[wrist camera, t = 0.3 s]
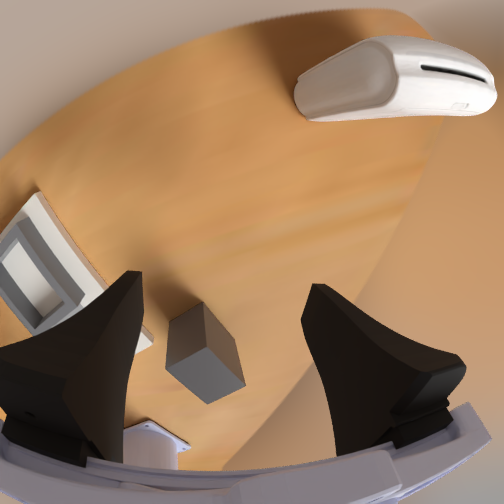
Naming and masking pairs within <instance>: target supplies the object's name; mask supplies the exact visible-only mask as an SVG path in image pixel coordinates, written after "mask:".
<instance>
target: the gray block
mask: <svg viewBox="0 0 504 504" xmlns="http://www.w3.org/2000/svg"><path fill="white" fill-rule="evenodd" d="M165 369H166V370H167V371H168V372H169V373H170V374H172V375H173V376H174V377H175V378H176V379H177V380H178V381H179V382H181V383H182V384H183V385H184V386H185V387H186V388H188V389H189V390H190V391H191V392H192V393H194V394H195V395H196V396H197V397H199V398H200V399H201V400H202V401H204V402H205V403H206V404H209V403H212V402H214V401H216V400H218V399H220V398H222V397H224V396H227V395H229V394H231V393H233V392H235V391H237V390H239V389H241V388H243V387H245V386H246V384H245V380H244V376H243V372H242V368H241V364H240V360H239V356H238V351H237V347H236V343H235V339H234V338H233V337H232V336H231V335H230V333H229V332H228V331H227V330H226V329H225V328H224V326H223V325H222V324H221V323H220V322H219V320H218V319H217V318H216V317H215V316H214V314H213V313H212V312H211V311H210V310H209V308H208V307H207V306H206V305H205V303H204V302H202V303H200V304H198V305H197V306H195V307H193V308H192V309H190V310H188V311H187V312H185V313H183V314H182V315H180V316H178V317H177V318H175V319H174V320H172V321H170V322H169V331H168V341H167V353H166V366H165Z"/></svg>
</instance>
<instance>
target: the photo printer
mask: <svg viewBox="0 0 504 504" xmlns="http://www.w3.org/2000/svg"><path fill="white" fill-rule="evenodd" d="M297 80H298V83H297V84H296V86H295V89H294V100H295V103H296V106H297V108H298V109H299V111H300V112H301V113H302V114H303V115H305V116H306V120H310V121H321V122H325V121H344V120H359V119H373V118H386V117H400V116H424V115H450V116H473V115H477V114H481V113H483V112H486V111H487V110H488V109H490V108H491V106H492V105H493V104H494V103H495V101H496V98H497V92H496V90H495V87H494V78H493V76H492V74H491V73H490V71H489V70H488V69H487V68H486V66H485V65H484V64H483V63H482V62H480V61H479V60H478V59H476V58H475V57H474V56H472V55H470V54H468V53H466V52H464V51H462V50H460V49H458V48H455V47H453V46H450V45H447V44H444V43H440V42H436V41H433V40H428V39H423V38H417V37H409V36H396V35H389V36H378V37H372V38H368V39H364V40H362V41H360V42H358V43H356V44H354V45H352V46H350V47H348V48H346V49H344V50H342V51H340V52H339V53H337V54H335V55H333V56H331V57H329V58H328V59H326V60H324V61H323V62H321V63H319V64H317V65H316V66H314V67H312V68H311V69H309V70H307V71H306V72H304V73H303V74H301V75H300V76H299V77H298V78H297Z"/></svg>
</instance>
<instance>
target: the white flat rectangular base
mask: <svg viewBox="0 0 504 504" xmlns="http://www.w3.org/2000/svg"><path fill="white" fill-rule="evenodd" d="M107 288H109V286H108V285H107V284H106V283H105V282H104V280H103V279H102V278H101V277H100V275H99V274H98V273H97V272H96V270H95V269H94V268H93V266H92V265H91V264H90V263H89V261H88V260H87V259H86V257H85V256H84V255H83V253H82V252H81V251H80V249H79V248H78V247H77V245H76V244H75V242H74V241H73V240H72V238H71V237H70V235H69V234H68V233H67V231H66V230H65V228H64V227H63V225H62V224H61V222H60V221H59V219H58V218H57V216H56V215H55V213H54V212H53V210H52V209H51V207H50V205H49V204H48V202H47V201H46V199H45V197H44V196H43V194H42V193H41V191H40V192H37V193H34V195H33V196H32V197H31V198H30V199H29V200H28V201H27V202H26V204H25V205H24V206H23V207H22V208H21V209H20V210H19V212H18V213H17V214H16V215H15V216H14V218H13V219H12V220H11V221H10V223H9V224H8V225H7V226H6V228H5V229H4V230H3V232H2V233H1V234H0V296H1V297H2V298H3V300H4V301H5V302H6V304H7V305H8V306H9V308H10V309H11V310H12V311H13V313H14V314H15V315H16V316H17V318H18V319H19V320H20V321H21V322H22V324H23V325H24V326H25V327H26V328H27V329H28V331H29V332H30V333H31V334H32V335H33V336H35V335H38V334H40V333H42V332H44V331H46V330H48V329H50V328H52V327H54V326H56V325H58V324H59V323H61V322H63V321H65V320H66V319H68V318H70V317H71V316H73V315H74V314H76V313H77V312H79V311H80V310H82V309H83V308H84V307H86V306H87V305H88V304H89V303H91V302H92V301H93V300H94V299H96V298H97V297H98V296H99V295H101V294H102V293H103V292H104V291H105V290H106V289H107ZM153 342H154V337H153V336H152V334H151V333H150V332H149V331H148V330H147V329H146V328H145V327H144V326H143V325H142V327H141V333H140V337H139V340H138V344H137V347H136V351H135V354H137V353H138V352H140V351H142V350H144V349H145V348H147V347H149V346H151V345H152V344H153Z"/></svg>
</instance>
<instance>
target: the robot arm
mask: <svg viewBox="0 0 504 504" xmlns="http://www.w3.org/2000/svg"><path fill="white" fill-rule="evenodd" d="M143 315H144V304H143V287H142V272H140V271H129V270H128V271H126V272H125V273H124V274H123V275H122V276H121V277H120V278H118V279H117V280H116V281H115V282H114V283H113V284H112V285H111V286H110V287H109V288H107V289H106V290H105V291H104V292H103V293H102V294H101V295H99V296H98V297H97V298H96V299H94V300H93V301H92V302H91V303H89V304H88V305H87V306H86V307H84V308H83V309H82V310H80V311H79V312H77V313H76V314H74V315H73V316H71V317H70V318H68V319H66V320H65V321H63V322H61V323H59V324H58V325H56V326H54V327H52V328H50V329H48V330H46V331H44V332H42V333H40V334H38V335H35V336H33V337H30V338H28V339H25V340H23V341H20V342H16V343H13V344H10V345H7V346H3V347H0V407H1V408H2V409H3V411H4V412H5V413H6V414H7V416H6V419H5V422H4V421H3V420H1V419H0V492H2V493H4V494H6V495H8V496H10V497H12V498H14V499H16V500H18V501H20V502H22V503H24V504H398V503H397V501H399V500H401V499H403V498H405V497H407V496H409V495H411V494H413V493H415V492H417V491H419V490H421V489H423V488H424V487H426V486H428V485H430V484H431V483H433V482H435V481H436V480H438V479H440V478H441V477H443V476H445V475H446V474H448V473H449V472H451V471H453V470H454V469H456V468H457V467H458V466H460V465H461V464H463V463H464V462H465V461H466V460H468V459H469V458H471V457H472V456H473V455H474V454H476V453H477V452H478V451H479V450H480V449H482V448H483V447H484V446H485V445H486V444H488V443H489V442H490V441H491V440H492V438H491V436H490V435H489V433H488V431H487V429H486V428H485V426H484V425H483V423H482V421H481V420H480V418H479V417H478V415H477V413H476V412H475V410H474V409H473V407H472V406H471V404H470V403H469V402H466V403H464V404H462V405H460V406H458V407H456V408H454V409H453V410H452V411H450V412H449V411H448V410H447V408H446V407H448V406H449V404H450V403H449V401H448V400H447V397H448V395H450V393H451V392H452V391H453V390H454V389H455V388H456V386H457V385H458V384H459V383H460V381H461V380H462V379H463V377H464V375H465V372H466V365H465V364H464V362H463V361H462V360H461V359H460V357H459V356H458V355H456V354H453V353H449V352H445V351H441V350H437V349H434V348H431V347H428V346H426V345H423V344H420V343H418V342H415V341H413V340H411V339H409V338H407V337H404V336H402V335H400V334H398V333H396V332H394V331H393V330H391V329H389V328H388V327H386V326H384V325H382V324H381V323H379V322H378V321H376V320H374V319H373V318H371V317H370V316H369V315H367V314H366V313H364V312H363V311H362V310H360V309H359V308H357V307H356V306H355V305H353V304H352V303H351V302H350V301H348V300H347V299H346V298H344V297H343V296H342V295H340V294H339V293H338V292H336V291H335V290H333V289H332V288H331V287H329V286H327V285H326V284H313V283H312V287H311V290H310V293H309V296H308V299H307V302H306V305H305V308H304V311H303V314H302V317H301V324H302V328H303V332H304V336H305V340H306V342H307V345H308V347H309V350H310V352H311V355H312V357H313V360H314V362H315V365H316V367H317V369H318V372H319V374H320V377H321V380H322V383H323V386H324V389H325V393H326V397H327V401H328V405H329V410H330V414H331V419H332V425H333V431H334V437H335V445H336V455H337V457H334V458H329V459H325V460H319V461H315V462H309V463H303V464H297V465H290V466H283V467H275V468H265V469H254V470H237V471H186V470H178V458H177V453H180V452H183V451H186V450H189V449H191V446H190V445H189V444H187V443H186V442H184V441H182V440H181V439H179V438H177V437H176V436H174V435H173V434H171V433H169V432H168V431H166V430H165V429H163V428H162V427H160V426H159V425H157V424H156V423H154V422H153V421H150V420H148V421H145V422H142V423H140V424H137V425H134V426H132V427H129V428H126V429H124V413H125V401H126V392H127V384H128V378H129V374H130V370H131V366H132V362H133V358H134V355H135V351H136V347H137V344H138V340H139V337H140V333H141V327H142V321H143Z"/></svg>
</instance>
